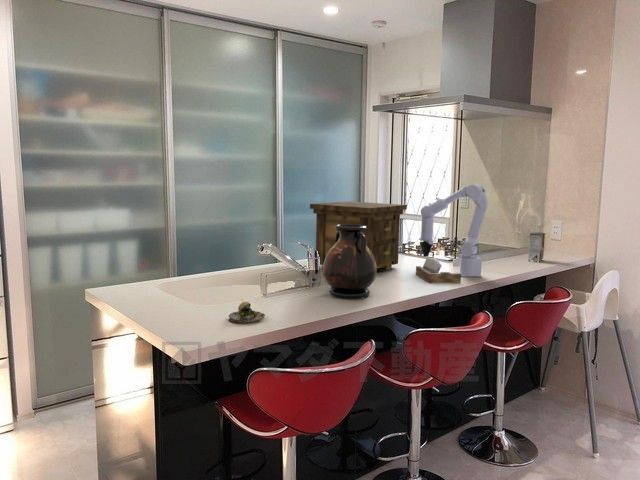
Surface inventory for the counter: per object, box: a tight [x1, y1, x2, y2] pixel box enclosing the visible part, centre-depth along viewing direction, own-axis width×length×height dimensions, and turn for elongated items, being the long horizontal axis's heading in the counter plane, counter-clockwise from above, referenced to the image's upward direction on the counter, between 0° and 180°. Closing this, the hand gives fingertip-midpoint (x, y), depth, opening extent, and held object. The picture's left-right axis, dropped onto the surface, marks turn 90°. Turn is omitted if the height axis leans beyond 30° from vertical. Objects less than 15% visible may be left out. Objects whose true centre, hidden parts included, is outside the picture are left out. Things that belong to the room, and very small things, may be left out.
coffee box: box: [528, 231, 546, 262], centre depth 302 cm, size 9×6×16 cm
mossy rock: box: [228, 299, 266, 325], centre depth 174 cm, size 12×12×8 cm
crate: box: [309, 200, 408, 270], centre depth 267 cm, size 35×35×33 cm
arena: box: [415, 265, 462, 284], centre depth 248 cm, size 15×20×5 cm
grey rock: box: [422, 257, 443, 273], centre depth 257 cm, size 8×9×10 cm
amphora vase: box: [322, 224, 378, 300], centre depth 210 cm, size 22×22×28 cm
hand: (425, 256), depth 267 cm, fingers closed
